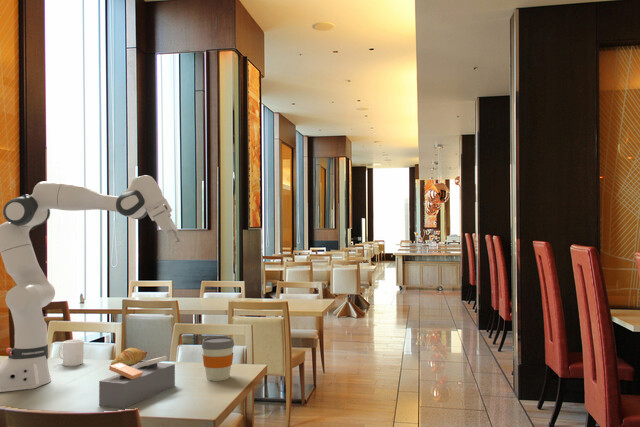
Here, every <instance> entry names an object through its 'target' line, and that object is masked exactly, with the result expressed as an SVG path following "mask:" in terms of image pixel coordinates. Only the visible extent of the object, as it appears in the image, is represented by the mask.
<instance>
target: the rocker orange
mask: <svg viewBox="0 0 640 427" xmlns="http://www.w3.org/2000/svg"><path fill="white" fill-rule="evenodd" d="M108 370H109V371H111V372H113V373H116V374H117V375H118V374H120V375H122V376H125V377H127V378H129V379H132V380H133V379H135V378H138V377H140V376H142V374H143V372H142V371H139V370H137V369H134V368H132V367H131V365H128V366H127V365H125V364H122V363H117V364H114V365H111V364H110V365H109V369H108Z"/></svg>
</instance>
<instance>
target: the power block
mask: <svg viewBox="0 0 640 427" xmlns="http://www.w3.org/2000/svg"><path fill="white" fill-rule="evenodd" d="M135 369H137V370H139V371H142V372H143V374H142V376H140V377H138V378H135V379H133V380H132V379H129V378H127V377H125V376H122V375H120V374H118V373H117V374H116V375H113V376H109V377H106V378H105V379H101V380H100V381H99V382H98V384H99V386H98V389H99V390H98V395H99V396H98V401H99V402H98V406H100V407H109V408H116V409H117V408H118V409H126V408H128V407H131V406H133V405H135V404H137V403H139V402H142V401H144V400H146V399H148V398H150V397H153V396H155V395H158V394H159V393H161V392H164V391H166V390H168V389H170V388H173V387H175V386H176V370H175V369H176V364H175V363H168V362H167V363H166V362H159V363H155V364H151V365H147V366H142V367H138V368H135Z"/></svg>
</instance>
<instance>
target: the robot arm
mask: <svg viewBox="0 0 640 427" xmlns="http://www.w3.org/2000/svg"><path fill="white" fill-rule="evenodd" d="M32 189H33V190H32V194H30V195H29V194H26V193H25V194H23V195H21V196H18V197H15V198H12V199H10V200H9V201H7V202H6V203H5V204H4V206H3V209H2V214H3V215H2V216H3V217H4V218H5V220H6V221H5V222H3V223H1V224H0V256H1V259H2V263H3V264H4V268H5V269H4V270H5V271H6V273H7V275H9V276H10V277H11V278H12V279H13V281H14V283H15V284H16V285H15V286H13V287H12V288H10V289H9V290H8V292H7V293H6V295H5V305H6V306H7V308H8V309H9V310H10V313H11V317H12V321H13V326H14V347H13V348H11V347H7V348H6V354H8V358H7V359H6V360H5V361H3V362H2V363H1V364H0V393H3V392H12V391H13V392H14V391H22V390H31V389H36V388H38V387H41V386H43V385H47V384H49V383H50V382H52V378H51V375H50V370H49V362H48V360H49V345H48V325H47V324H48V323H47V322H46V321H45V318H44V313H43V308H44V307H46V306H48V305H49V304H51V302H52V301H53V300H54V299H55V295H56V289H55V287H54V285H52V283H51V282H50V281H49V280H48V279H47V276H46V275H45V273H44V272H43V269H42V268H41V267H40V264H39V262H38V259H37V256H36V253H35V250H34V247H33V243H32V240H31V237H30V231H35V229H37V228H38V227H40V226H41V225H43V224H45V223H46V222H47V221H48V220H49V218H50V216H51V210H50V209H53V210H60V211H75V212H76V211H86V210H87V211H90V210H98V211H99V210H102V211H108V212H109V211H110V212H115V213H116V212H117V213H119V214H120V215H122V216H124V217H128V218H131V219H134V220H141V219H144V218H145V217H147V215H148V216H149V218H150V219H151V221H152V222H155V223H156V224H157V226H158V227H159V229H160V230H161V231H162V232H163V233H165V234H167V236H168V237H169V239H170V240H171V241H172V243H175V244H179V243H181V240H180V238H179V235H178V231H179V230H178V227H177V226H176V224H175V222H174V221H173V219H172V218H171V216H172V213H171V212H173V209H172V207H171V205H170V204H169V202H168V200H167V199H166V197H164V195H163V192H162V190H161V187H160V186H159V184H158V183H157V182H156V180H155V178H153V176H151V175H147V174H144V175H143V174H142V175H140V176H137V177H135V178H133V179H132V180H131V183H130V184H129V187H128V188H127V189H126V190H125V191H124V192H123V193H122V194H120V195H119V196H115V195H111V194H110V195H108V194H103V193H100V192H97V191H94V190H92V189H89V188H87V187H85V186H82V185H79V184H77V183H73V182H65V181H57V180H56V181H55V180H52V181H51V180H46V181H39V182H37V183H36V185H34V187H33V188H32Z"/></svg>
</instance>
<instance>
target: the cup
mask: <svg viewBox="0 0 640 427" xmlns="http://www.w3.org/2000/svg"><path fill="white" fill-rule="evenodd" d="M84 341H85V340H84V339H77V338H75V339H68V340H64V341H63V342H62V343H61V344H59V345H60V346H59V348H58V356H59V358H60V359H61V360H62V365H63V366H65V367H74V366H75V365H77V366H81V365H83V363H84V354H85V352H84V351H85V350H84V348H85V347H84V344H85V342H84ZM80 364H81V365H80ZM75 367H76V366H75Z"/></svg>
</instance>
